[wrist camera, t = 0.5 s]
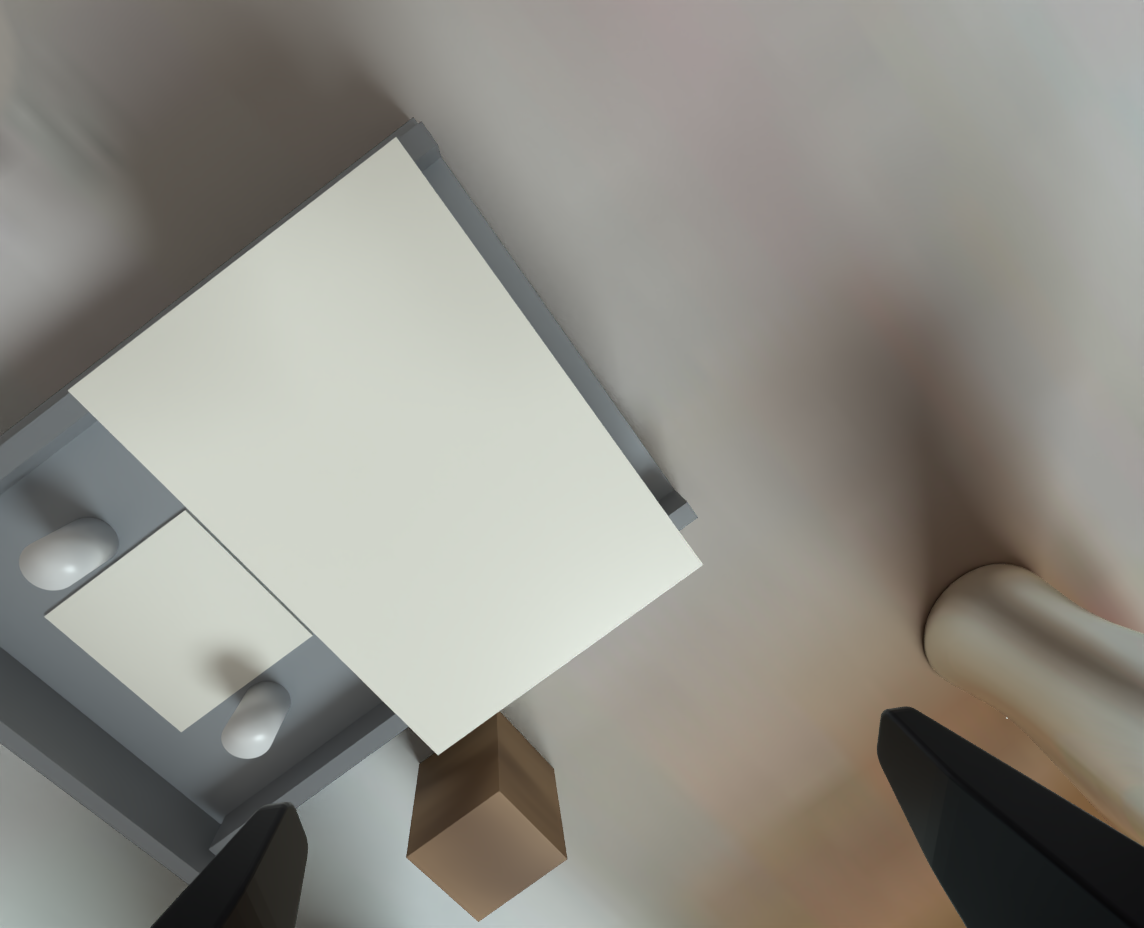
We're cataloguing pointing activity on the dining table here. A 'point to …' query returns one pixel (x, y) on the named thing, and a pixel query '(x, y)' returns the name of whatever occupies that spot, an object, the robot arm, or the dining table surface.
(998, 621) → the beer glass
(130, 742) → the housing base
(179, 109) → the dining table surface
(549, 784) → the walnut block
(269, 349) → the cover
